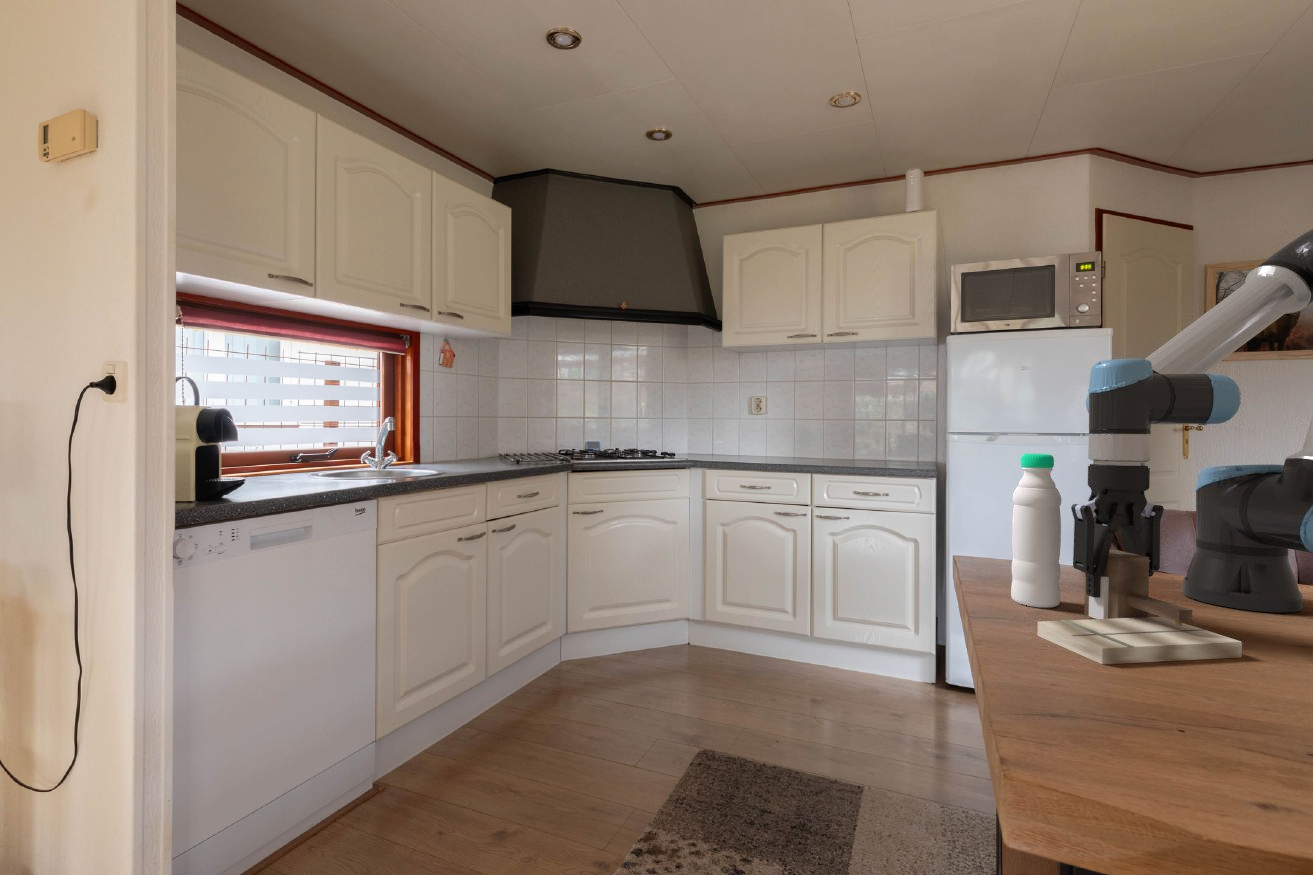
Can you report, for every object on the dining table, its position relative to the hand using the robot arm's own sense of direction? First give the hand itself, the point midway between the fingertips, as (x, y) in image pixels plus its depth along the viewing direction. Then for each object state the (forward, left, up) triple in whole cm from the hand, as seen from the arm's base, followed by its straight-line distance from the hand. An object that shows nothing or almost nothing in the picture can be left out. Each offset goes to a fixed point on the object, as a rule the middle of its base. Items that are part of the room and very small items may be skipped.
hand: (1115, 617), depth 96 cm
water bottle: (+4, -12, -1) cm, 12 cm away
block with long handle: (0, +4, 0) cm, 4 cm away
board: (+6, +9, -1) cm, 11 cm away
